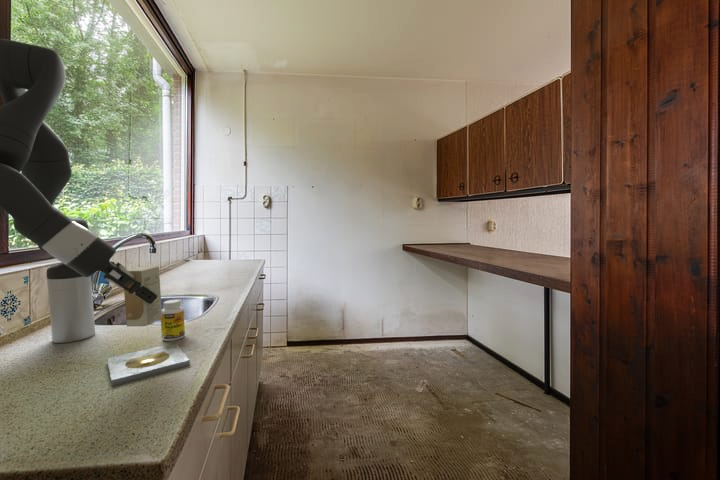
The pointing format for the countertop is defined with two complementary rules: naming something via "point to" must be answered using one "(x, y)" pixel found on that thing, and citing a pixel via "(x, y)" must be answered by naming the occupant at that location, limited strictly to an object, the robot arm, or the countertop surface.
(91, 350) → the countertop surface
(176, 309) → the supplement bottle
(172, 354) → the grey square plate
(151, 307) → the skincare box
